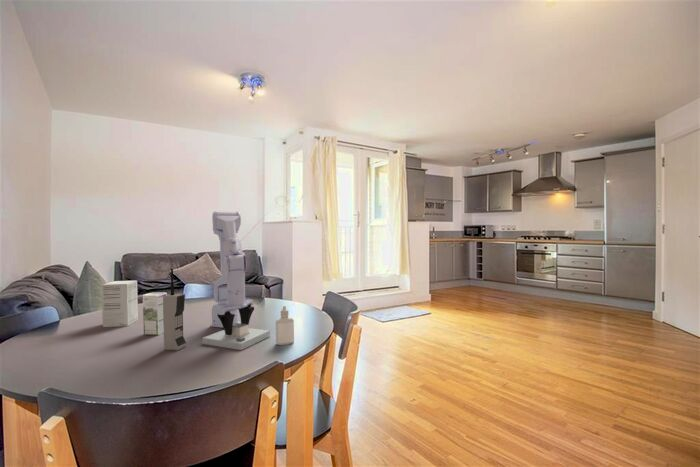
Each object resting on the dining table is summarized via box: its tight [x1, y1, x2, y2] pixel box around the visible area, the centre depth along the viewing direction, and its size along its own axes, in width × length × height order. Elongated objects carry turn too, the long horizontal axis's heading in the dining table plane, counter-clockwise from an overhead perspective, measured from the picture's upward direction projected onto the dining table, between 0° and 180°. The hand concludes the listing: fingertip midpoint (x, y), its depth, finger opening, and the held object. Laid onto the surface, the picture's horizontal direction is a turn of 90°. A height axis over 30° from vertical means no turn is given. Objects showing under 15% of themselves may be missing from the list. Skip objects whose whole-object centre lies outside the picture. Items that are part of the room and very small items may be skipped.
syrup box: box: [142, 292, 168, 336], centre depth 121 cm, size 6×6×14 cm
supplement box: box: [101, 280, 139, 328], centre depth 135 cm, size 10×9×17 cm
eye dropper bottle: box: [275, 305, 295, 346], centre depth 107 cm, size 4×6×12 cm
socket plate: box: [201, 327, 271, 351], centre depth 111 cm, size 16×14×3 cm
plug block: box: [226, 323, 249, 337], centre depth 111 cm, size 6×4×5 cm, turn 66°
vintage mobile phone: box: [163, 268, 187, 351], centre depth 104 cm, size 4×5×25 cm
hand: (236, 331), depth 111 cm, fingers open, 7 cm apart
